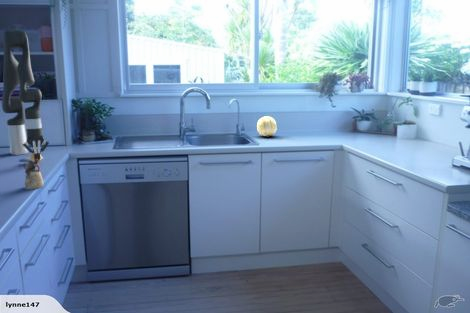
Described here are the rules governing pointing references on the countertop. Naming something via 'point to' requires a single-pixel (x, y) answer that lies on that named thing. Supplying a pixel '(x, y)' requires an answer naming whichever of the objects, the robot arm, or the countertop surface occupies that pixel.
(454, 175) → the countertop surface
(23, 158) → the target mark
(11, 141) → the robot arm
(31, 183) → the figurine
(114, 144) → the countertop surface
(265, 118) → the cantaloupe
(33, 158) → the ball
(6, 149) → the countertop surface
